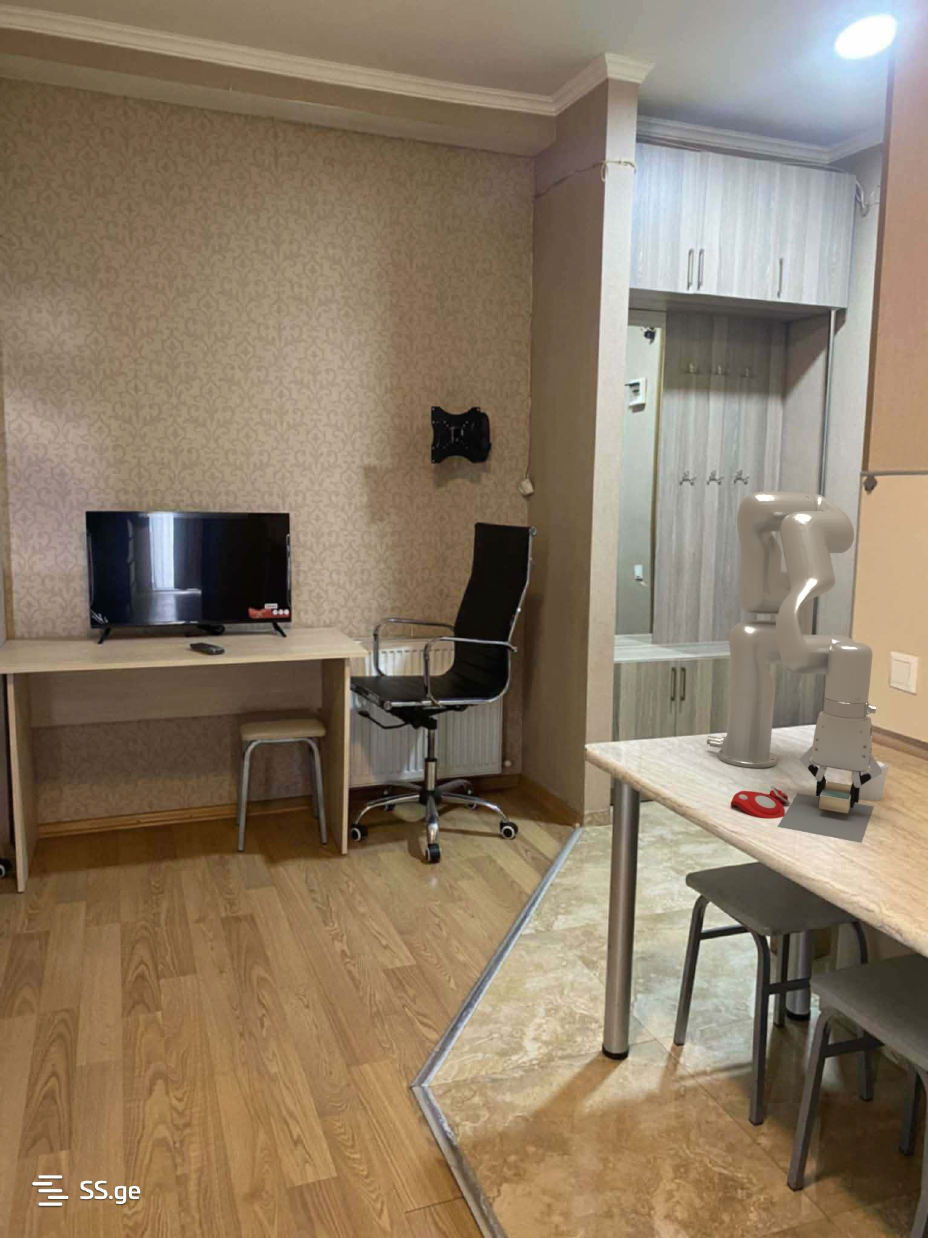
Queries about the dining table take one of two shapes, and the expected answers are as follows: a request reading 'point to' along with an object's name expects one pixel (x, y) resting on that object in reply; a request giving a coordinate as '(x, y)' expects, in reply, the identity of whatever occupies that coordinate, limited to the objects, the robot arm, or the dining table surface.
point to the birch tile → (835, 797)
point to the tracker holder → (761, 803)
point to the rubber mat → (826, 819)
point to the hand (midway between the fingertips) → (836, 802)
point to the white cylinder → (873, 784)
